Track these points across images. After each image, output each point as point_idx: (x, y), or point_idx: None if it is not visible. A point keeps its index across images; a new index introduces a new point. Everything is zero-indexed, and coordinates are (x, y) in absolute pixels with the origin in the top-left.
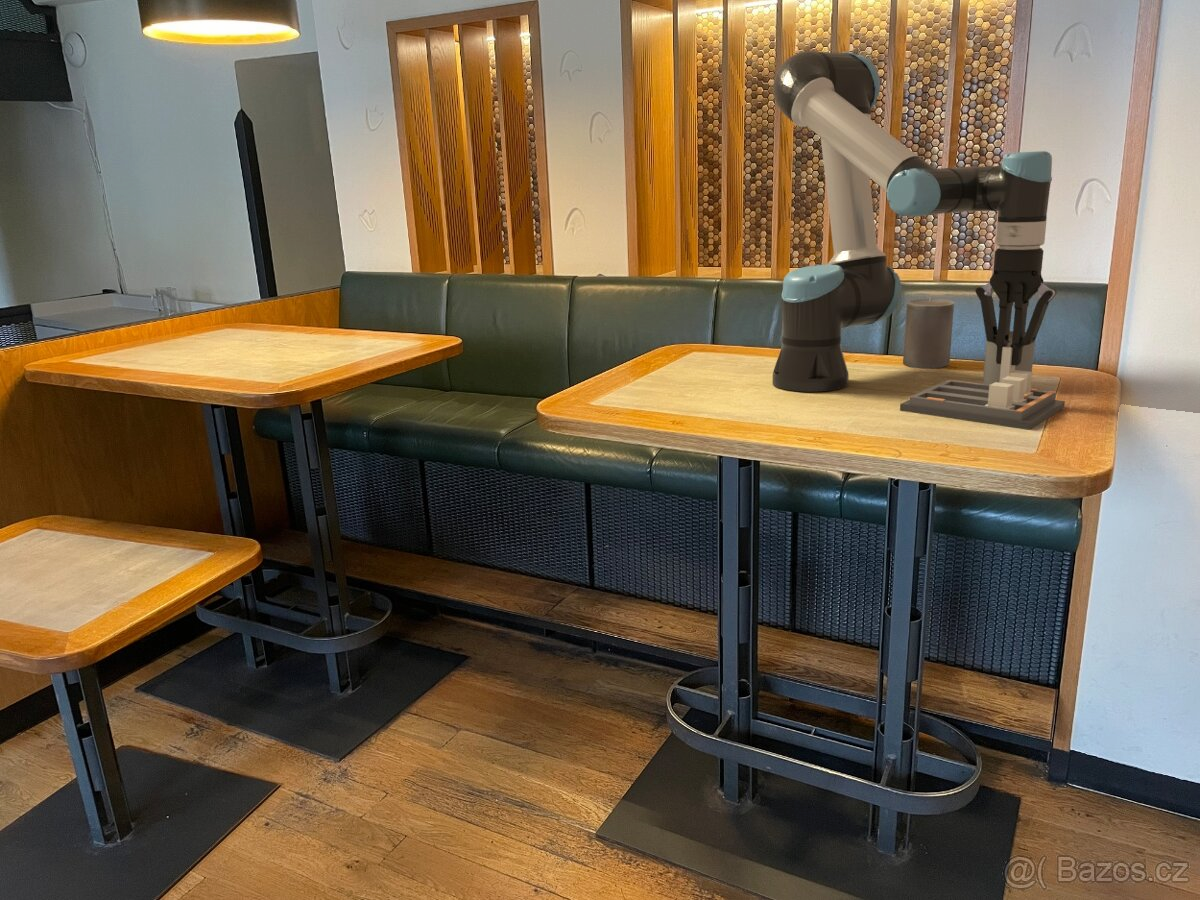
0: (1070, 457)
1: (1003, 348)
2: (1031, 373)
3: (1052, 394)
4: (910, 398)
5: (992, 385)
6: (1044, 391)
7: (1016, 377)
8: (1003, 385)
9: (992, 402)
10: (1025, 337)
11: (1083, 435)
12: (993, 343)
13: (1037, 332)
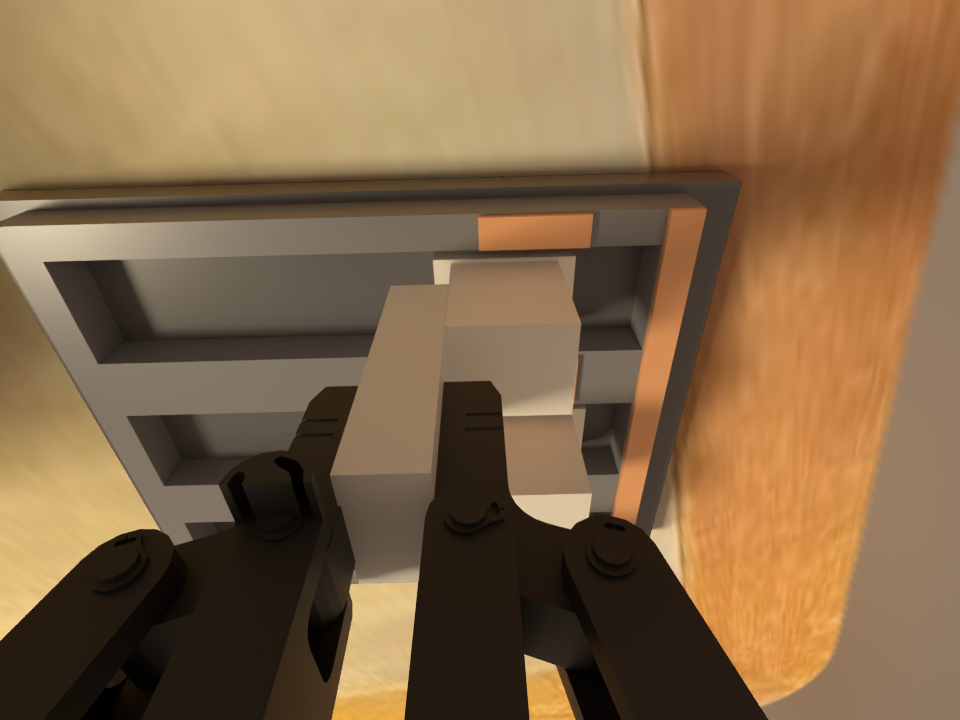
0: (764, 643)
1: (370, 574)
2: (578, 334)
3: (690, 269)
4: None
5: None
6: (635, 219)
7: (540, 500)
8: None
9: None
10: (583, 703)
11: (801, 507)
12: None
13: (726, 681)
